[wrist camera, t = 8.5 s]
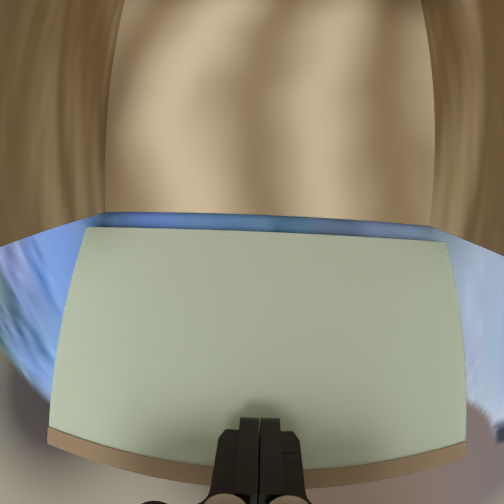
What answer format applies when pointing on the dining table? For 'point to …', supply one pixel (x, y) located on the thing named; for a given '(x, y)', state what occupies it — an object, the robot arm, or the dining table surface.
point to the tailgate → (260, 351)
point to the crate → (254, 111)
